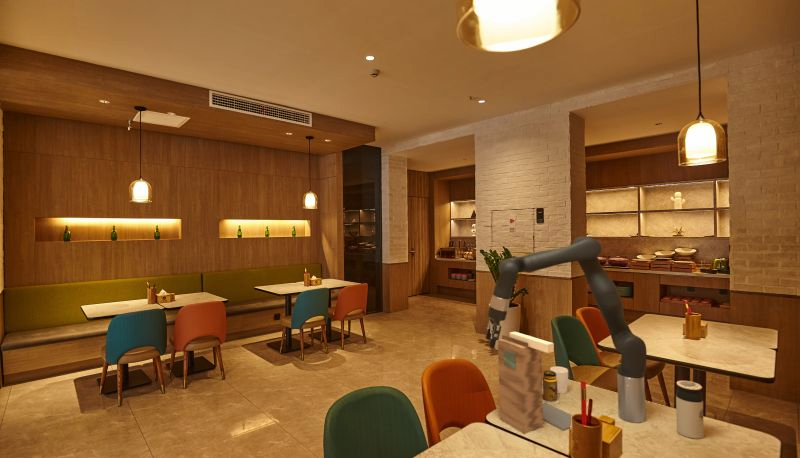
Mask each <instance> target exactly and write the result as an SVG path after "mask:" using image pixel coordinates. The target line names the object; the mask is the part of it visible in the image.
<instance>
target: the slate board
mask: <svg viewBox="0 0 800 458" xmlns="http://www.w3.org/2000/svg"><path fill="white" fill-rule="evenodd" d="M572 415H573V414H571V413H568V412H566V411H564V410H562V409H560V408H558V407H556V406H554V405H552V404H551V403H550V404H549V402H543V422H547V423H548V424H550V425H552V427H553V426H554V427H556V428H558V429H559V430H561V431H564V432H565V431H567V430H569V429H571V428H570V426H571V416H572Z"/></svg>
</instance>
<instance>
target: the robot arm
mask: <svg viewBox="0 0 800 458" xmlns="http://www.w3.org/2000/svg"><path fill="white" fill-rule="evenodd" d="M601 252H602V245H601V243H600V242H599V240H597V239H595V238H593V237H588V236H578V237H576V238H574V240H573V241H572V243H571V244H569V245H567V246H564V247H560V248H555V249H554V248H553V249H548V250H541V251H538V252H533V253H528V254H525V255H522V256H515V257H509V258H506V259H505V258H504V259H503V260H501V261H500V262H499V263H498V271H499V275H498V276H499V277H498V280H497V282H496V283H495V286H494V289H493V293H492V296H491V298H490V302H489V304H488V305H489V306H488V310H487V317H488V320H487V324H486V334H485V339H486V340H488V341H489V344H488V347H489V348H491V349H495V347H496V343H497V341H498V340H500V339H499V338H500V335H501V330H502V325H501V322H503V321H505V320H506V319H507V314H508V310H509V306H510V300H511V297H512V296H511V295H512V293H513V288H514V286H515V284H516V281H517V278H518V275H519V273H525V272H526V273H533V272H536V271H540V270H541V271H542V270H543V269H544V270H545V269H547V268H551V267H554V266H559V265H564V264H567V263H573V262H577V263H578V265H579V266H580V267H581V270H582V272H583V275H584V276H585V280H586V282H587V284H588V287H589V289H590V292H591V295H592V296H593V299H594V301H595V303H596V306H597V308H598V310H599V312H600V314H601V316H602V317H603V320H604V321H605V323H606V325H607V326H606V327H607V328H608V331H609V335H610V337H611V341H612V344H613V346H614V348H615V350H616V351H617V352H618V353H619V354H621V357H620V358H621V359H620V360H621V362H620V364H618V365H617V367H616V369H617V370H616V371H617V373H616V374H617V379H616V380H617V415H618V417H619V418H620V419H622V420H624V421H626V422H629V423H635V424H636V423H637V424H638V423H644V422H645V421H646V418H647V410H646V408H647V407H646V406H647V405H646V400H647V399H646V393H645V372H646V369H647V352H648V351H647V345H646V343H645V341H644V340H643V339H642V338H641V337H639V336H637V335H635V334H634V333H633V332H632V330H631V329H630V327H629V325H628V323H627V321H626V318H625V313H624V303H623V300H622V297H621V295H620V293H619V290H618V288H617V286H616V284H615V283H614V281H613V280H612V278H611V277H610V276H609V274H608V273H607V272H606V270H605V269H604V268H603V266H602V264H601V263H600V261H599V260H600V259H599V256H600V255H601Z"/></svg>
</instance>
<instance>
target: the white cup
mask: <svg viewBox="0 0 800 458" xmlns="http://www.w3.org/2000/svg"><path fill="white" fill-rule="evenodd" d="M549 369H550V370H549V371H554V372H555V373H556V379H557V393H558V394H560V395H563V394H567V393H568V387H569V369H568V368H566V367H563V366H550V368H549Z"/></svg>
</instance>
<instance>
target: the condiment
mask: <svg viewBox="0 0 800 458" xmlns="http://www.w3.org/2000/svg"><path fill="white" fill-rule="evenodd" d="M558 394H559V393H557V379H556V373H555V372H554V371H550V370H544V371H543V374H542V396H543V403H553V404H554V403H555V404H559V403H560V401H559V396H558Z"/></svg>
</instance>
